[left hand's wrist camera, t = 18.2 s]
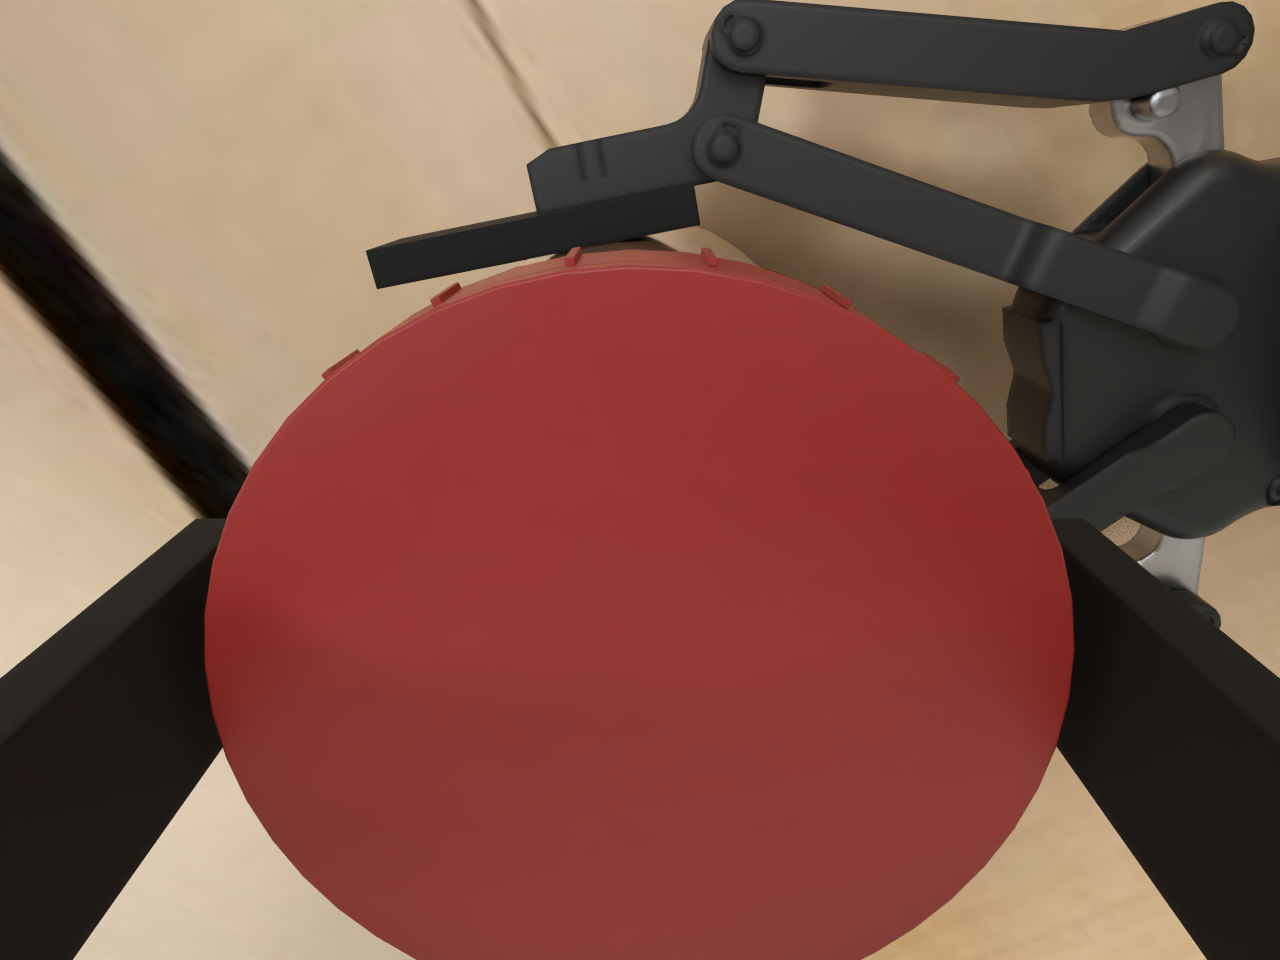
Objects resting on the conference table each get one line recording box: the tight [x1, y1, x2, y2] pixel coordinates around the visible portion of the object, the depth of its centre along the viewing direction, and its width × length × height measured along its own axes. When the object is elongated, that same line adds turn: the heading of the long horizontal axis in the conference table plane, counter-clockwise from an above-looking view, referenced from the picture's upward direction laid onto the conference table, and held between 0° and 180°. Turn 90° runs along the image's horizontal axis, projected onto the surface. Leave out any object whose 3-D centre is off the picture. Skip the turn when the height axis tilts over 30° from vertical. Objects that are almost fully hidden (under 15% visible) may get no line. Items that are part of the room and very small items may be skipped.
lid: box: [205, 247, 1074, 960], centre depth 11 cm, size 11×11×2 cm
